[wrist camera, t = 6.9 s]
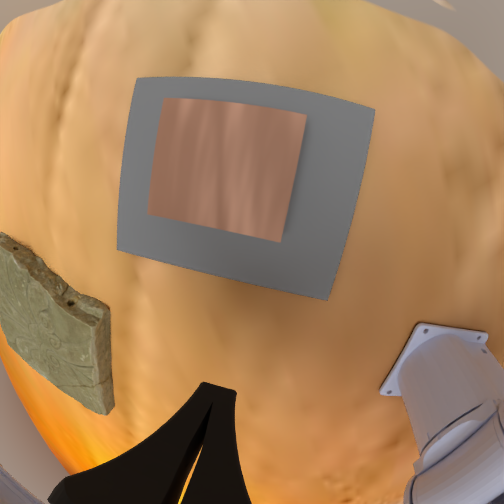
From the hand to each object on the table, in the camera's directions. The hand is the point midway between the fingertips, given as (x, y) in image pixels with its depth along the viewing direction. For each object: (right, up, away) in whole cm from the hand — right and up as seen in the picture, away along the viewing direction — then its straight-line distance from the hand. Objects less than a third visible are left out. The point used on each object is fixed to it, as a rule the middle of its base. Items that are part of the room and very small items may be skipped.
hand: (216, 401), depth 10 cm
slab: (+4, +10, +5) cm, 12 cm away
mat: (0, +10, +7) cm, 13 cm away
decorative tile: (-23, -3, +16) cm, 28 cm away
